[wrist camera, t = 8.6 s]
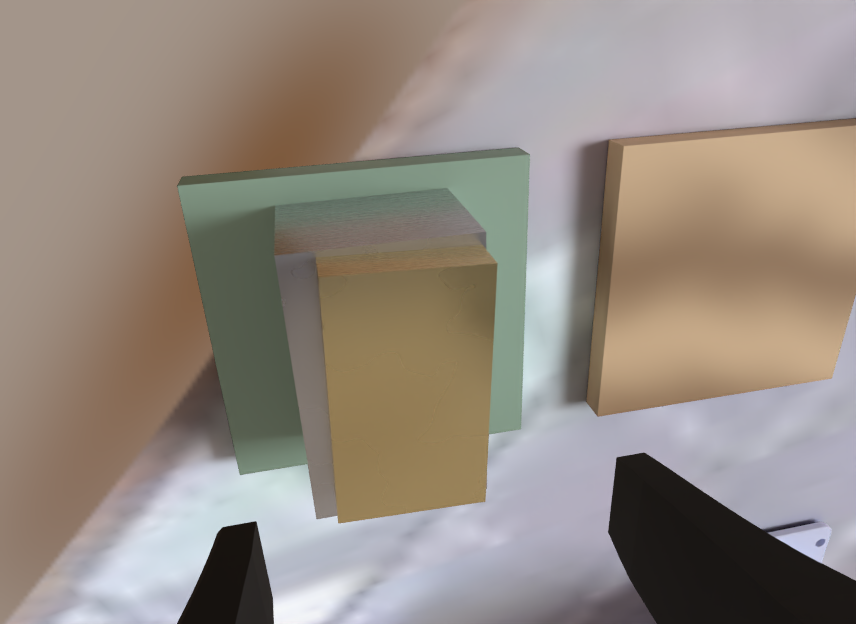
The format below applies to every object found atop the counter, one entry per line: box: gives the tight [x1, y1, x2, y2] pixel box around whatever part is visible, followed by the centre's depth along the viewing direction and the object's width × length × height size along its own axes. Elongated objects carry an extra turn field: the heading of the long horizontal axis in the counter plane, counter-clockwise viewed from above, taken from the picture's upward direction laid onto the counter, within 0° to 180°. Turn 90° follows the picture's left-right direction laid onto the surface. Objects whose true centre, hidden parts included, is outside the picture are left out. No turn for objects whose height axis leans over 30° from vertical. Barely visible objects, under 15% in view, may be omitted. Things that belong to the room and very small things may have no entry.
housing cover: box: [316, 245, 498, 523], centre depth 16 cm, size 4×7×1 cm, turn 0°
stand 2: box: [586, 118, 856, 416], centre depth 23 cm, size 10×10×1 cm
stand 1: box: [177, 148, 530, 475], centre depth 21 cm, size 10×10×1 cm
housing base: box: [274, 188, 487, 519], centre depth 19 cm, size 5×8×4 cm, turn 3°
